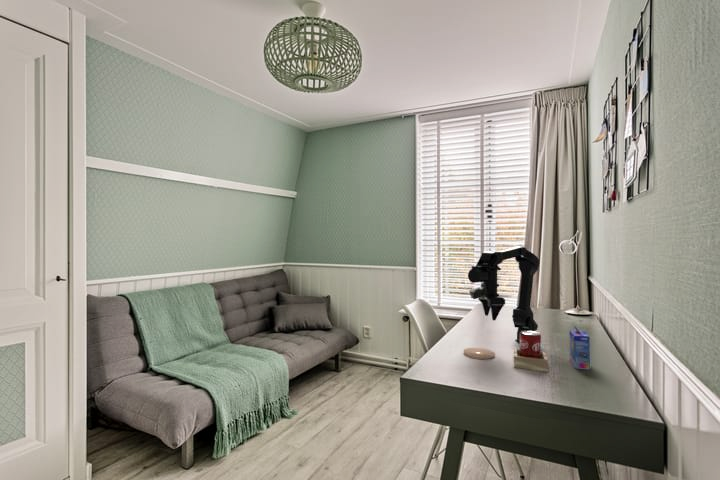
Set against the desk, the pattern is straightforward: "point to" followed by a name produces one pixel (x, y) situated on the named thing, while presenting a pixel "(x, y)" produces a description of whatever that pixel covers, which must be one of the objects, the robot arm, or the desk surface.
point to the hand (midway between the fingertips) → (490, 317)
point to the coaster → (479, 353)
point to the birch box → (530, 362)
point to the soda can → (530, 344)
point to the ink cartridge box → (579, 349)
